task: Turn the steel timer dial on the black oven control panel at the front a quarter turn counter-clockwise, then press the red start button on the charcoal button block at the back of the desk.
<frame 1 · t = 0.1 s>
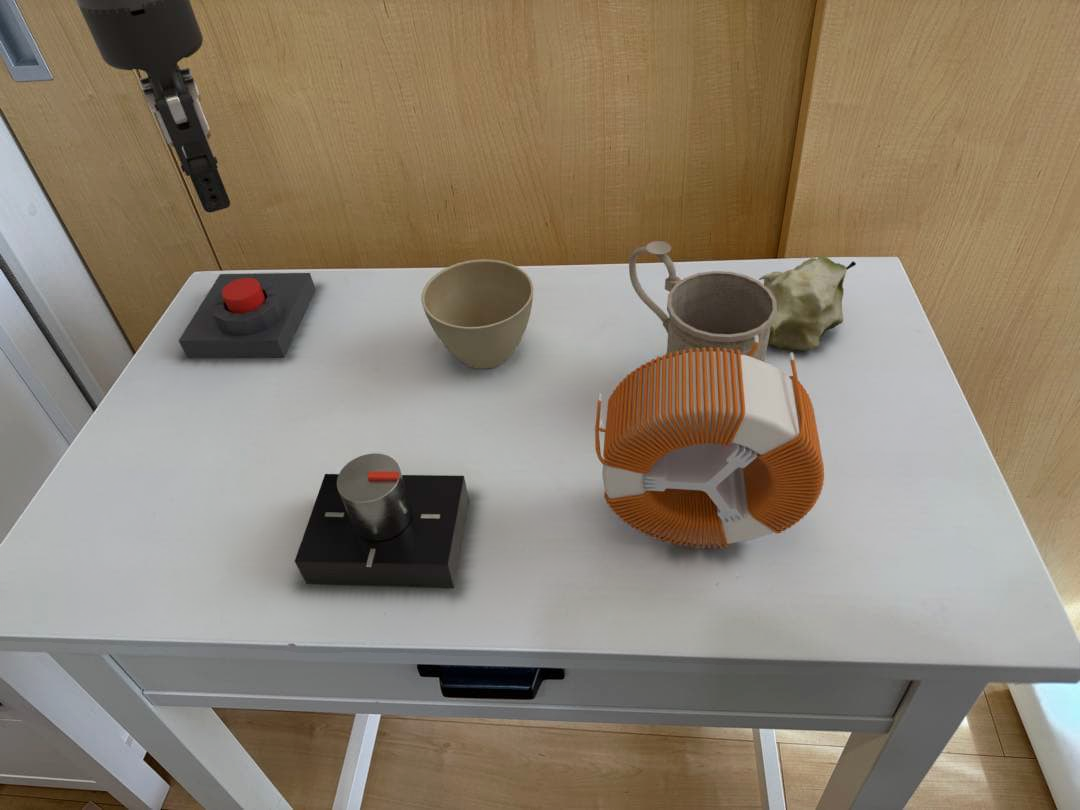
hand: (210, 186, 68), 15 cm above the table, tool pointing down, fingers open, 8 cm apart
bowl: (486, 353, 73), on the table
start button: (243, 295, 74), point 4 cm above the table, slide at 0.1 cm
timer panel: (391, 540, 58), on the table
timer knob: (375, 495, 54), point 5 cm above the table, hinge at 0.0°
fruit: (791, 329, 72), on the table
coil: (695, 515, 58), on the table
button block: (254, 322, 79), on the table
mug: (689, 379, 68), on the table
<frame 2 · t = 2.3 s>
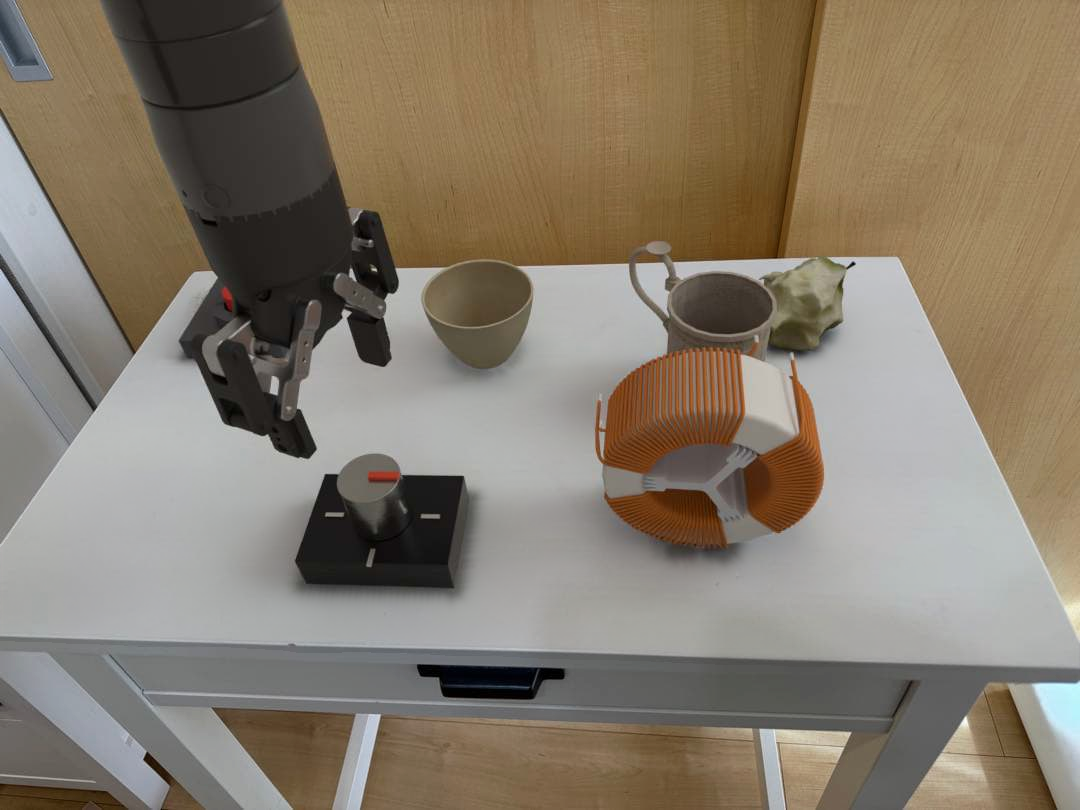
hand: (340, 404, 48), 14 cm above the table, tool pointing down, fingers open, 8 cm apart
nothing on the table moved.
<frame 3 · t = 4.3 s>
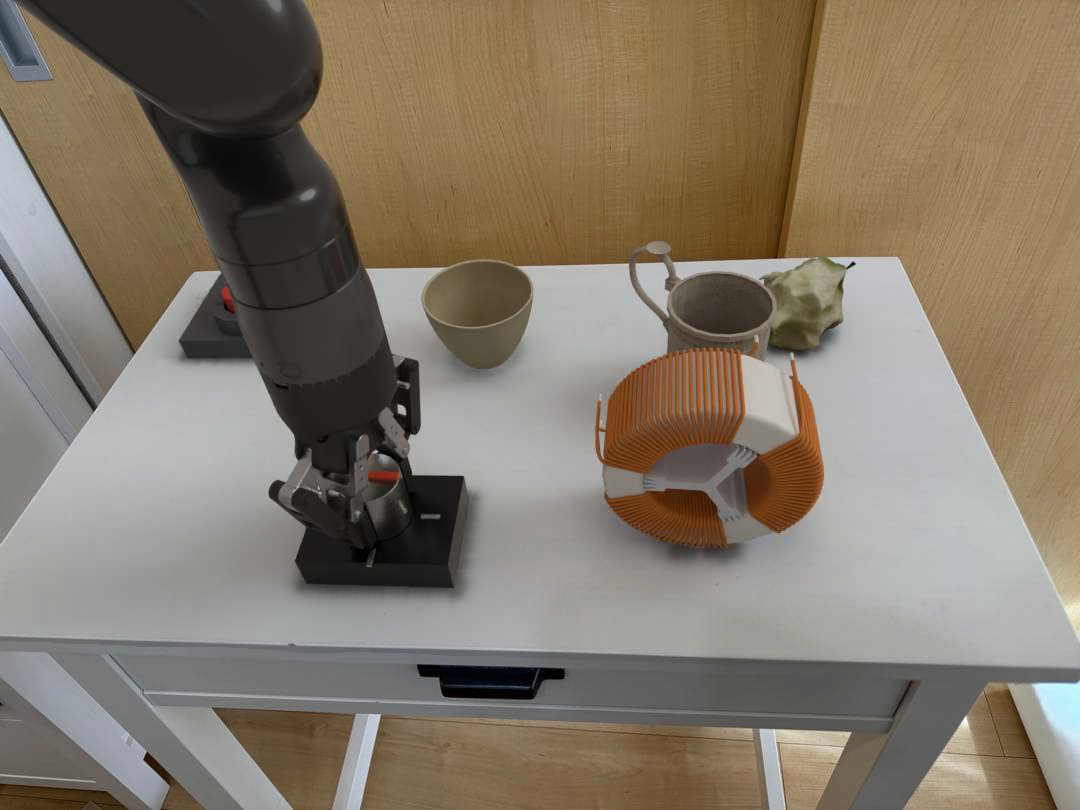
hand: (381, 514, 56), 3 cm above the table, tool pointing down, fingers closed on timer knob, 4 cm apart
timer knob: (375, 495, 54), point 5 cm above the table, hinge at -0.1°, touching gripper
everything else where it was.
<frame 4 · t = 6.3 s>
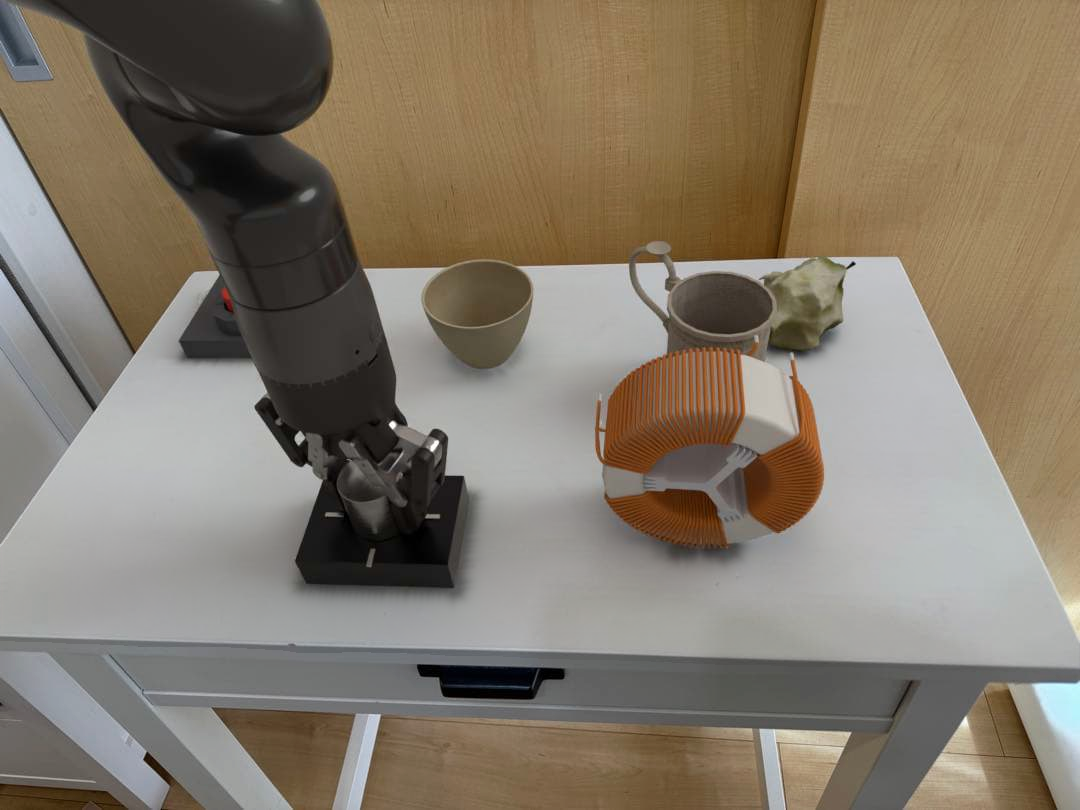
hand: (381, 512, 56), 3 cm above the table, tool pointing down, fingers open, 5 cm apart
timer knob: (375, 495, 54), point 5 cm above the table, hinge at 92.1°
everything else where it was.
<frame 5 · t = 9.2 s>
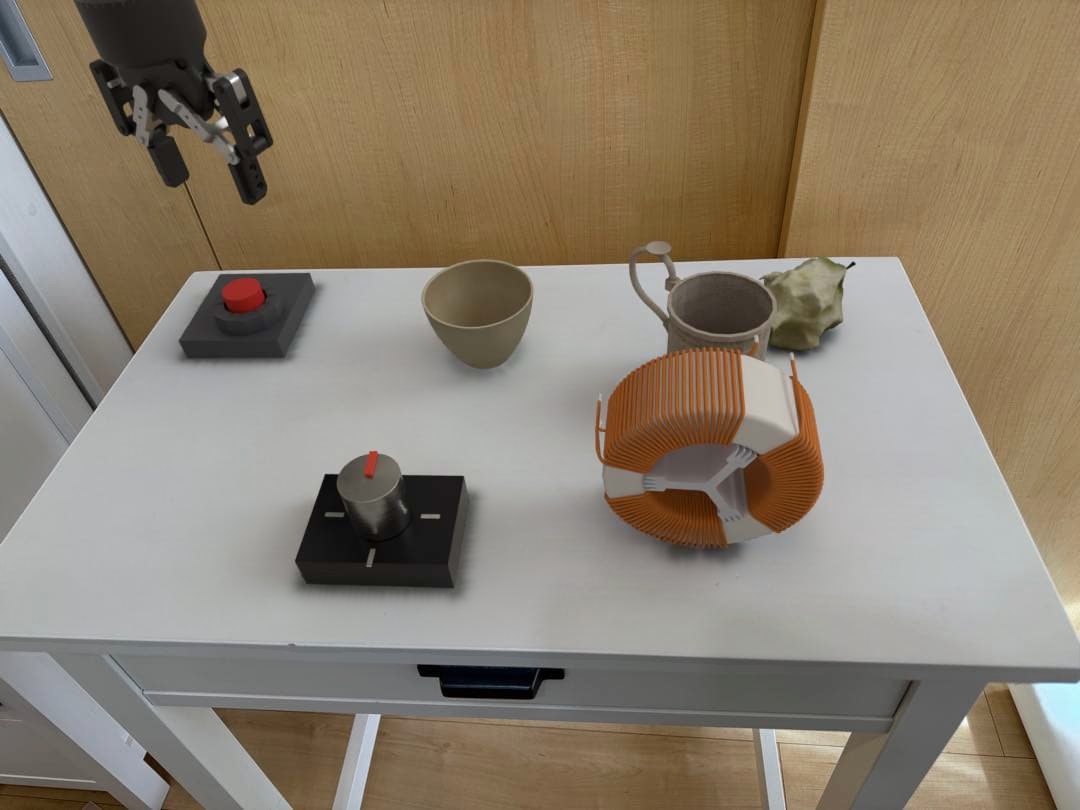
hand: (217, 191, 64), 17 cm above the table, tool pointing down, fingers open, 8 cm apart
nothing on the table moved.
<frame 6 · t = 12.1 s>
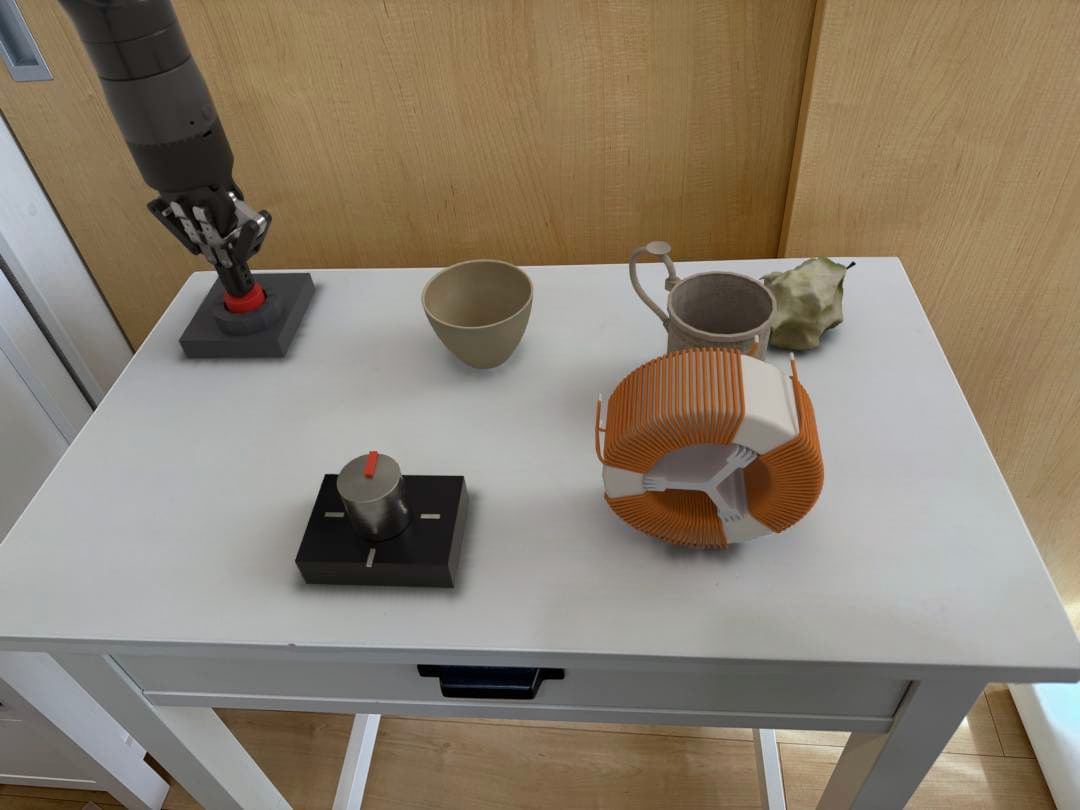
hand: (242, 291, 74), 5 cm above the table, tool pointing down, fingers closed
start button: (245, 299, 75), point 4 cm above the table, slide at -0.3 cm, touching gripper
everything else where it was.
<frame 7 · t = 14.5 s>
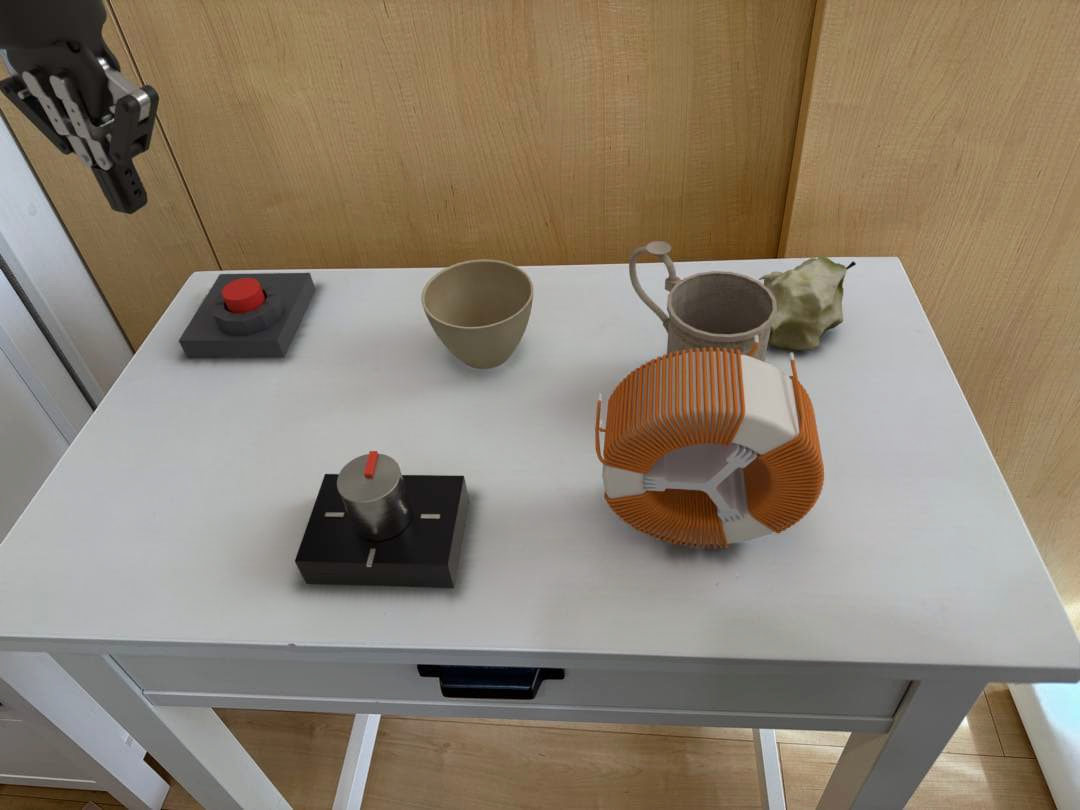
hand: (132, 207, 58), 19 cm above the table, tool pointing down, fingers closed
start button: (243, 295, 74), point 4 cm above the table, slide at 0.1 cm
everything else where it was.
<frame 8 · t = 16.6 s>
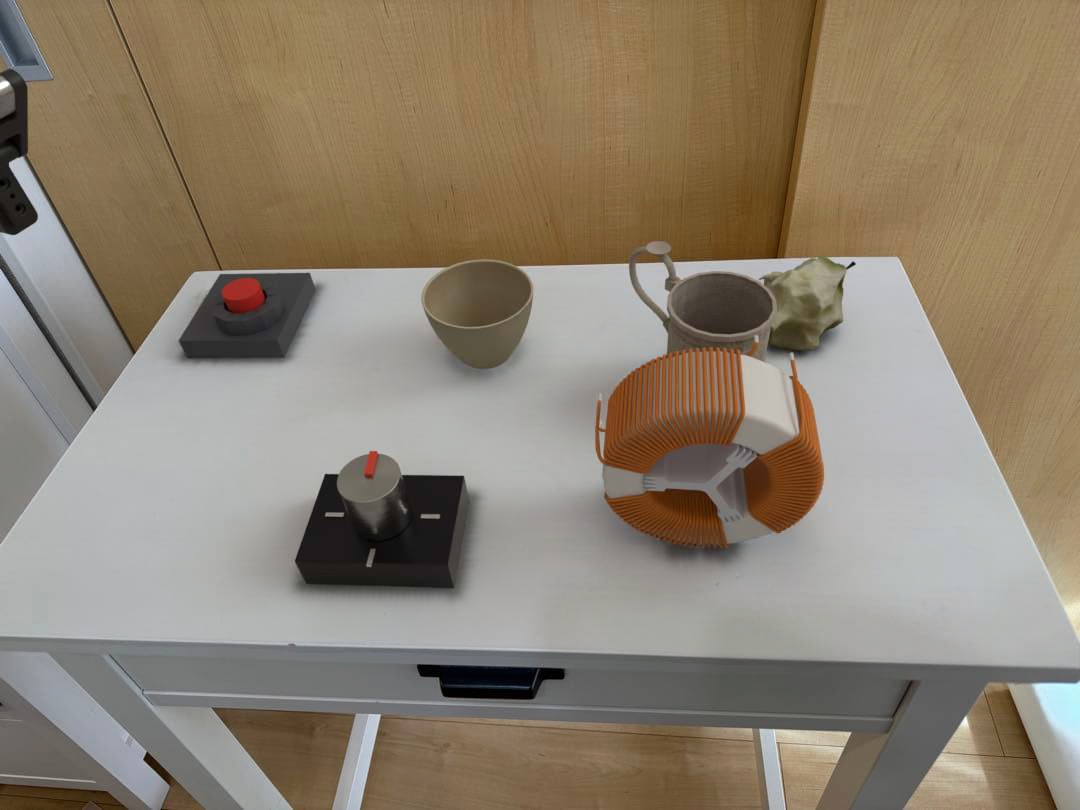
hand: (17, 226, 45), 25 cm above the table, tool pointing down, fingers closed
nothing on the table moved.
at the end: timer knob at +92° (first picture: +0°); start button pushed in 1.0 cm at the most during the clip, back to where it started at the end; start button slide at 0.1 cm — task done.
